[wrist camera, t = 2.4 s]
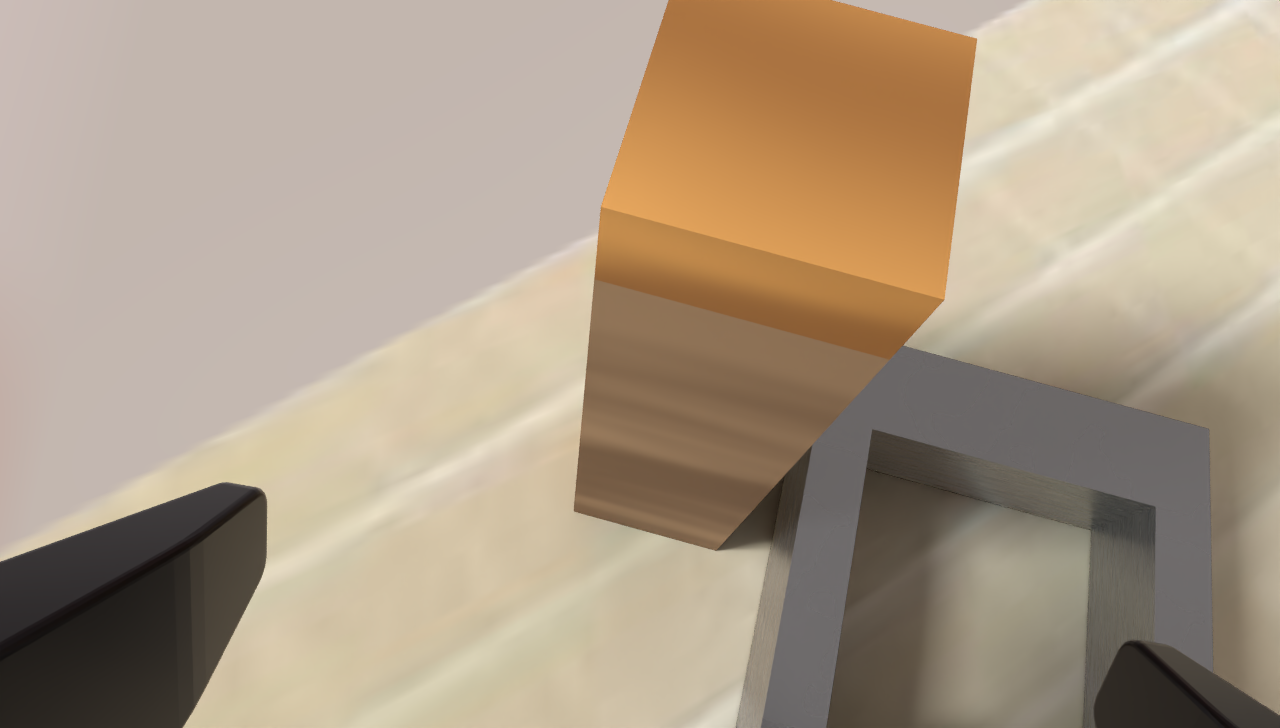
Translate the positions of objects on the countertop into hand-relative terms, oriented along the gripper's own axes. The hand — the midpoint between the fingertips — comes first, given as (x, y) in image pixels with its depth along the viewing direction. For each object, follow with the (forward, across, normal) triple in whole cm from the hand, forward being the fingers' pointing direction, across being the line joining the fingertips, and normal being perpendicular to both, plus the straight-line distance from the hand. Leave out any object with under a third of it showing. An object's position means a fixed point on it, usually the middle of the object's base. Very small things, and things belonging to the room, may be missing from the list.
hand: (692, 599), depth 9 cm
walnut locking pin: (+11, 0, +4) cm, 12 cm away
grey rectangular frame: (+9, -8, +6) cm, 14 cm away
